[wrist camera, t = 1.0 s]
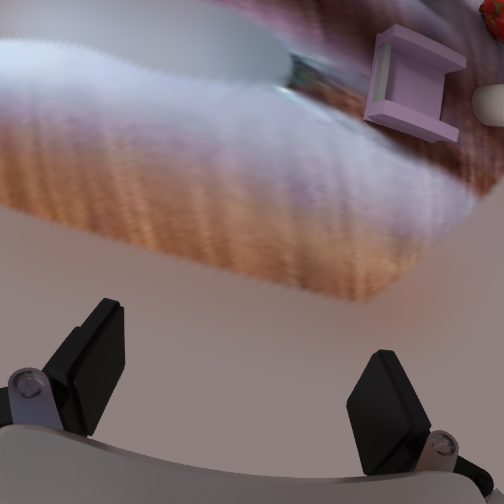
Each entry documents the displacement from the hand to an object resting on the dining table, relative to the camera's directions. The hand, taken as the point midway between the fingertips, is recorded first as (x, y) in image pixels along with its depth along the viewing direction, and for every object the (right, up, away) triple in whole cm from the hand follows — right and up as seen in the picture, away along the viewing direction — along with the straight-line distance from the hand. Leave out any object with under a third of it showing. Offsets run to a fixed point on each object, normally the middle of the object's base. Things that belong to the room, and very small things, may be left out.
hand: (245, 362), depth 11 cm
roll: (+34, +25, +21) cm, 47 cm away
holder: (+20, +24, +21) cm, 38 cm away
